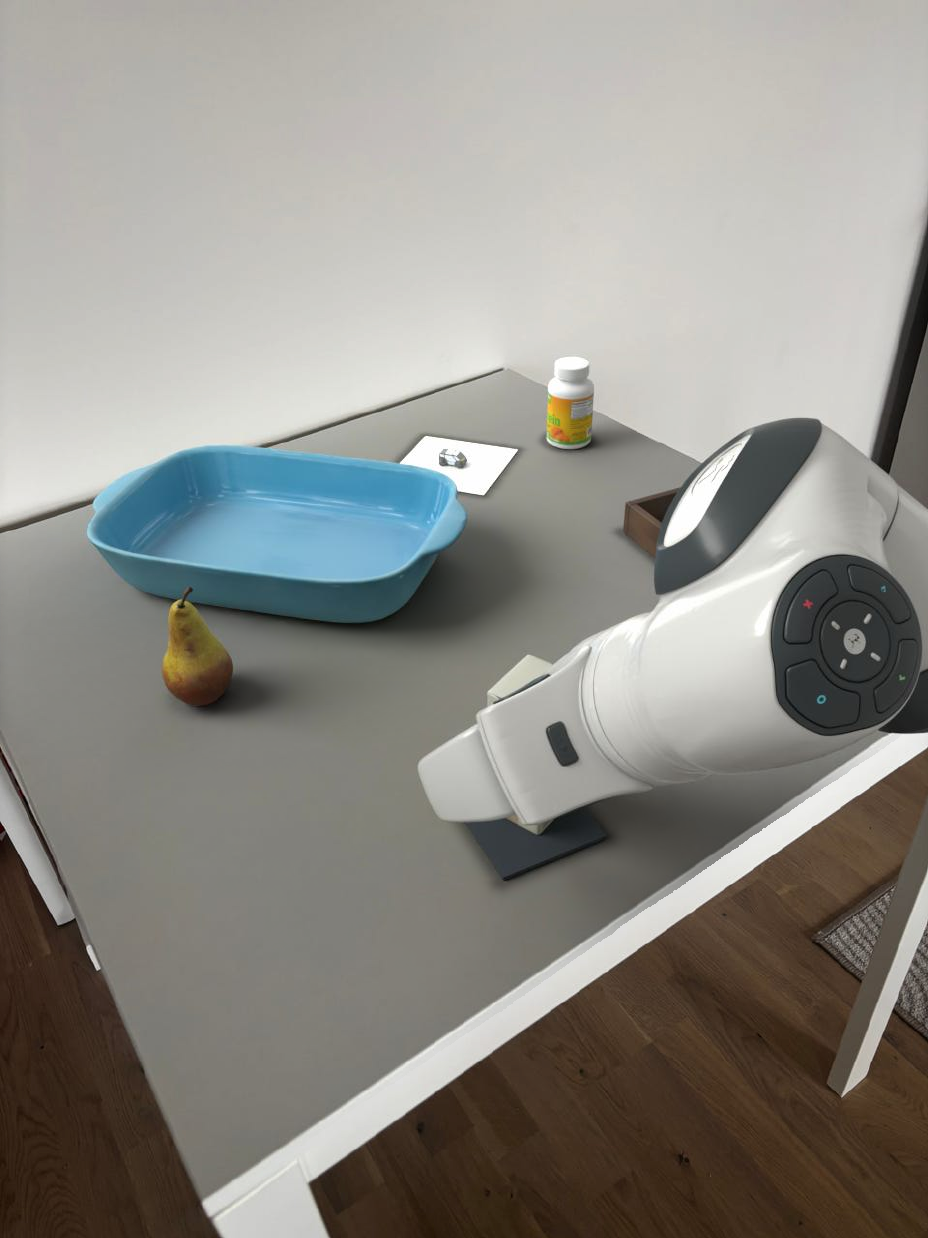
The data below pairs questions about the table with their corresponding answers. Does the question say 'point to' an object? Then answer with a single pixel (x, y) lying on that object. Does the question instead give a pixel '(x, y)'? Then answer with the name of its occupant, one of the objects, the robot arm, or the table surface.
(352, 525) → the casserole dish
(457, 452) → the white card
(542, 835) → the mat
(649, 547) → the crate
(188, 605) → the fruit
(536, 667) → the box
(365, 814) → the table surface
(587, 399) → the supplement bottle
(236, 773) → the table surface
